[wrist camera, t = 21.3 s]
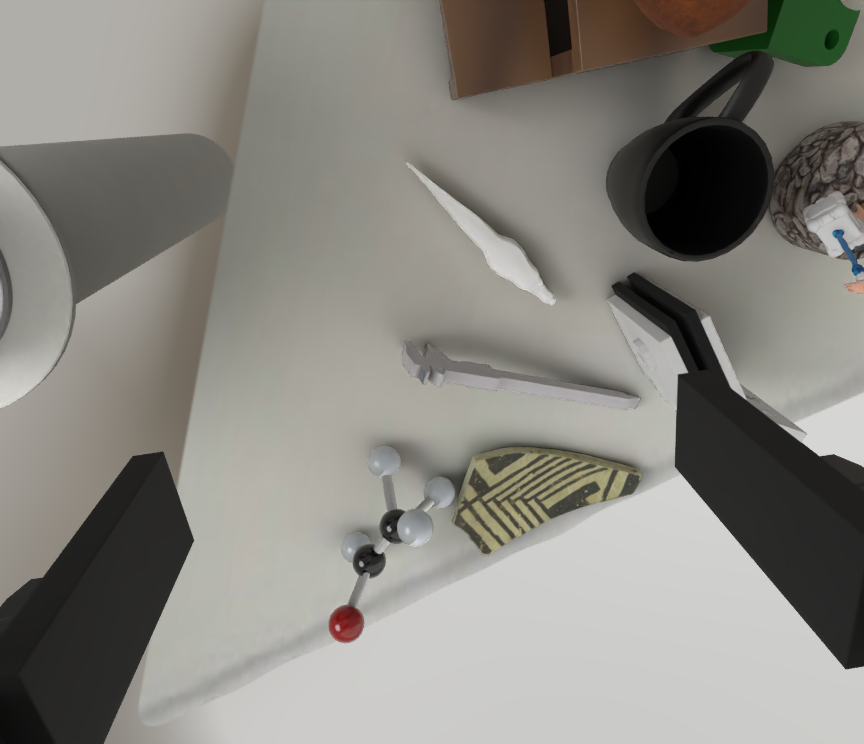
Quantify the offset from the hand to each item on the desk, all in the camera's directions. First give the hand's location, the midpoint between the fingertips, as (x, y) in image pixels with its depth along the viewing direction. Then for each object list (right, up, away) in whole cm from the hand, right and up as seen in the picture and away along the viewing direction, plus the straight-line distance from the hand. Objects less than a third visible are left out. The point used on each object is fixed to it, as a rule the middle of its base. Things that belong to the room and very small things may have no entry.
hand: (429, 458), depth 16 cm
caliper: (+8, +2, +34) cm, 35 cm away
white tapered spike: (+4, +13, +30) cm, 32 cm away
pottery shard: (+10, -9, +39) cm, 41 cm away
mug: (+16, +18, +28) cm, 37 cm away
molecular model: (-4, -10, +38) cm, 39 cm away
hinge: (+19, +5, +34) cm, 39 cm away
